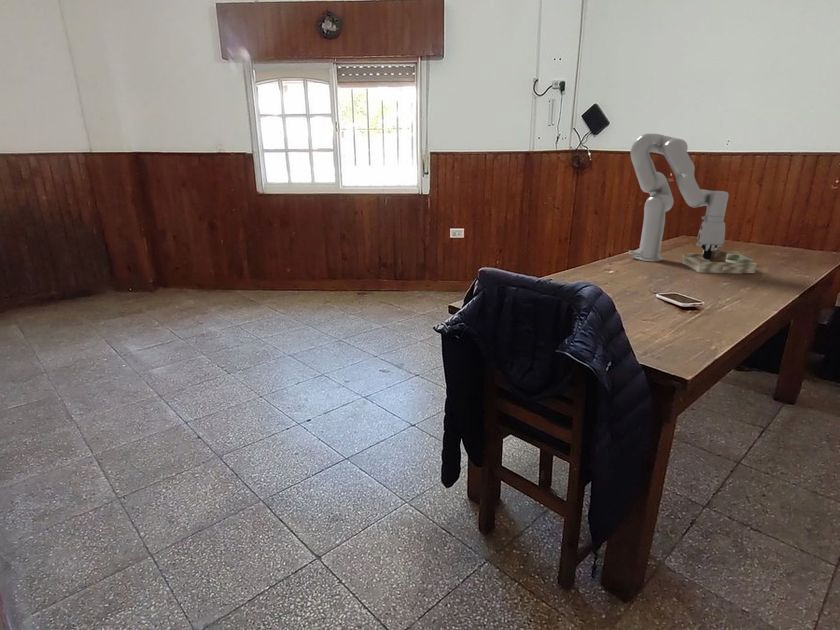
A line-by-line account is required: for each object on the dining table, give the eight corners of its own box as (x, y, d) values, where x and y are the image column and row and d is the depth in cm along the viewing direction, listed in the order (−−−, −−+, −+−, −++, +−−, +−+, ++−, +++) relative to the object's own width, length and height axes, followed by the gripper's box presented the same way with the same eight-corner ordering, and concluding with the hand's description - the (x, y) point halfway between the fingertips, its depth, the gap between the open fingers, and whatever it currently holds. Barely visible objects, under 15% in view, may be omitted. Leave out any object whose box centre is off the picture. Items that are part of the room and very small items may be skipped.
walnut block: (713, 262, 231) (715, 251, 229) (708, 260, 235) (711, 249, 234) (725, 263, 230) (727, 252, 229) (720, 260, 235) (722, 249, 233)
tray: (698, 272, 226) (700, 260, 224) (681, 262, 244) (683, 251, 242) (754, 273, 224) (757, 261, 222) (733, 263, 242) (736, 252, 240)
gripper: (700, 220, 224) (692, 260, 230) (735, 220, 222) (727, 261, 229) (693, 217, 231) (686, 256, 237) (727, 218, 229) (719, 257, 236)
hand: (706, 258), depth 233 cm, fingers closed
